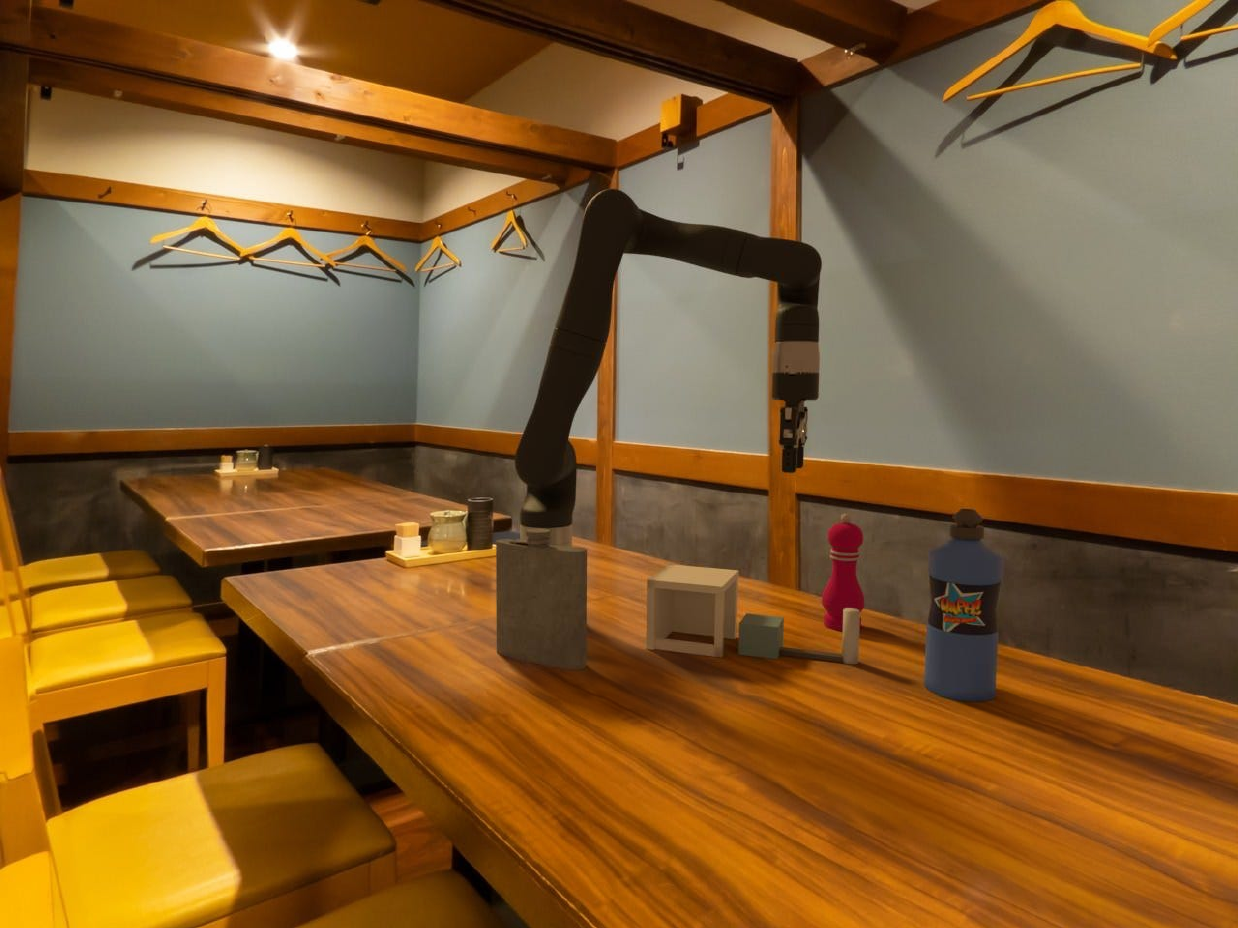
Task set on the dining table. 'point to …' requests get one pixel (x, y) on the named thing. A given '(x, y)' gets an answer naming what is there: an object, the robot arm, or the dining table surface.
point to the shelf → (691, 608)
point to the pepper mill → (843, 573)
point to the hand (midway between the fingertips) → (792, 470)
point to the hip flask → (541, 601)
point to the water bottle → (963, 613)
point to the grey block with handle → (767, 642)
